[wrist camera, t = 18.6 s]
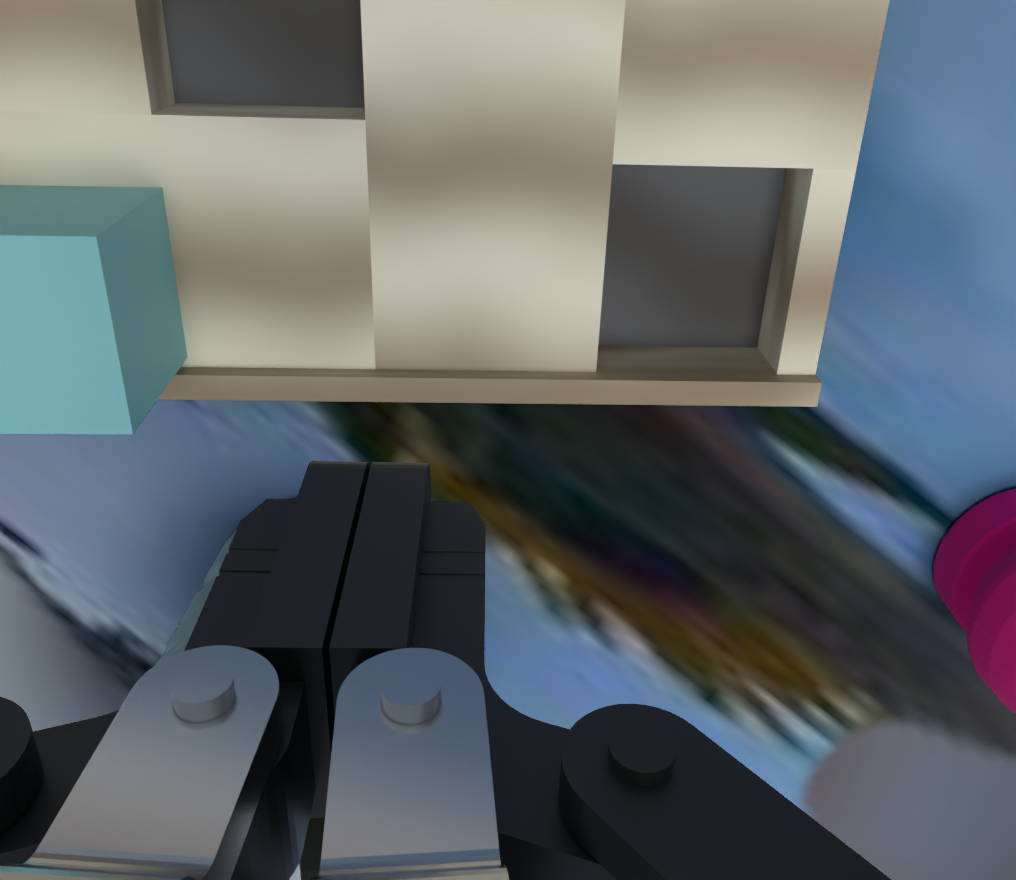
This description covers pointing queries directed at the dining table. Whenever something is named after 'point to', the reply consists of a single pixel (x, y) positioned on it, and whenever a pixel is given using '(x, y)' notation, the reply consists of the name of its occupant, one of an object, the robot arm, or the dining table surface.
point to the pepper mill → (984, 588)
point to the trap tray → (468, 186)
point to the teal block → (85, 308)
